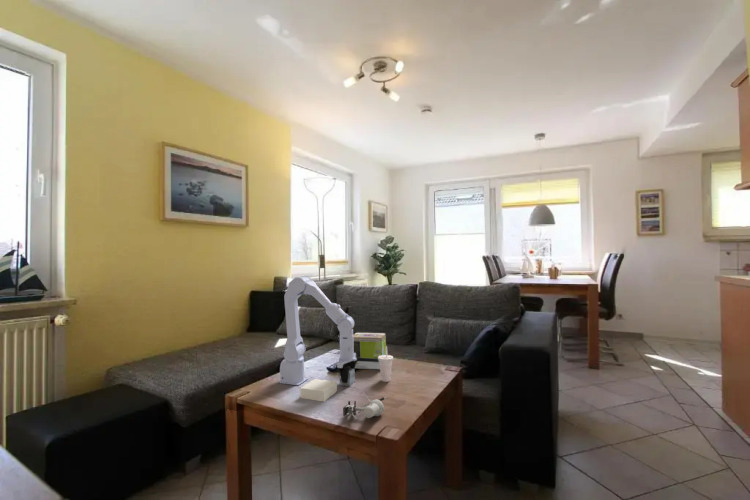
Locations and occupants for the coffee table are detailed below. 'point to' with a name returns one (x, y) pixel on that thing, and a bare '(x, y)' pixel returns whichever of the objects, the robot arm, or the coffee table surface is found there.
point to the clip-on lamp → (369, 411)
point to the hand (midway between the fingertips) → (347, 380)
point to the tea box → (369, 349)
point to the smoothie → (385, 366)
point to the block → (349, 378)
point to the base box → (318, 390)
